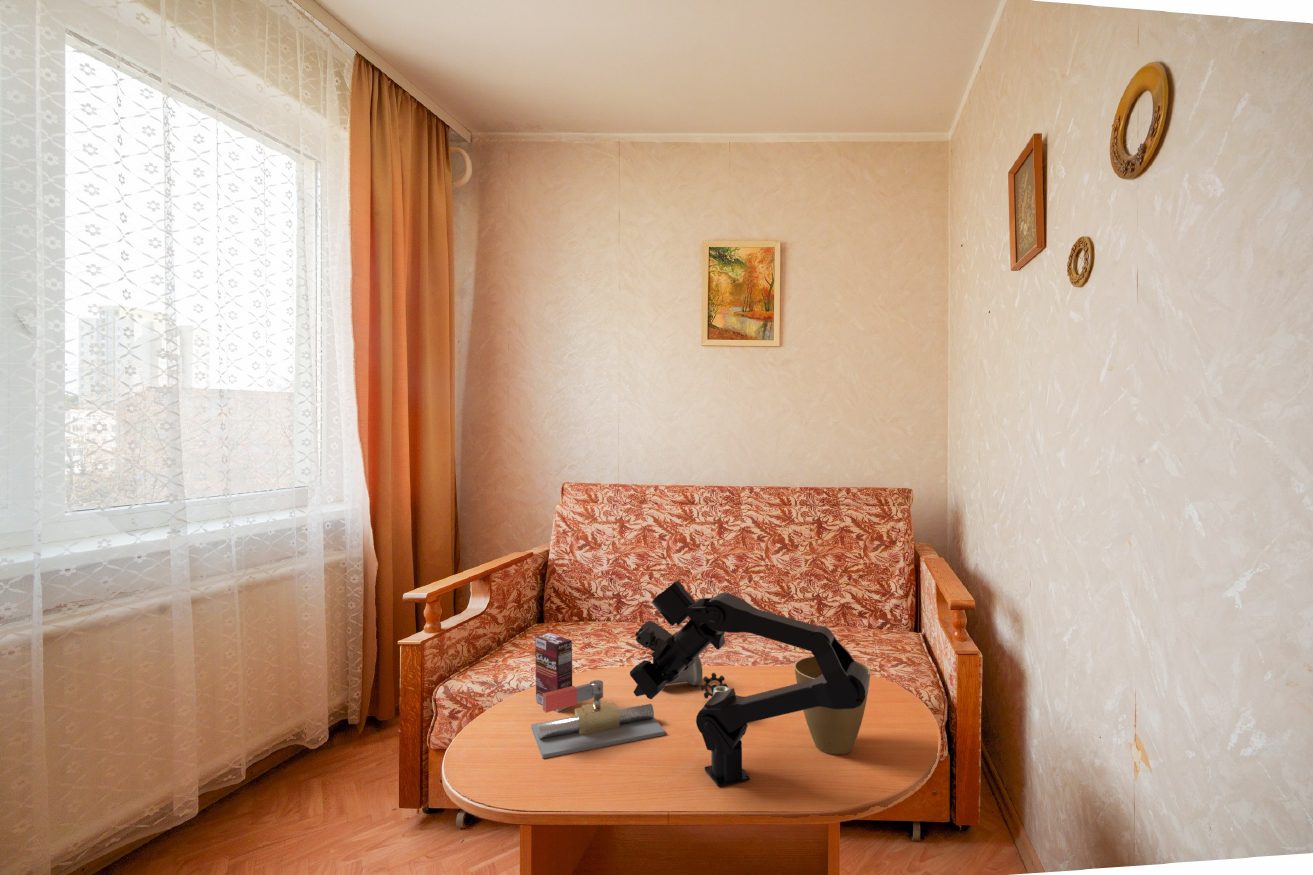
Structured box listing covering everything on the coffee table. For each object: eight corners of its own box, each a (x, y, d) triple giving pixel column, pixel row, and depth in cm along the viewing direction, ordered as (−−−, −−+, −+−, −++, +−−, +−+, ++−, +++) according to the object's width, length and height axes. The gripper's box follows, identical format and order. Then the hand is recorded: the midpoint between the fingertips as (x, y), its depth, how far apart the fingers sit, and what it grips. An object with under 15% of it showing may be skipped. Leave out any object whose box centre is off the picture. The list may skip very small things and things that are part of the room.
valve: (738, 721, 138) (727, 699, 150) (738, 691, 138) (727, 671, 150) (709, 723, 138) (700, 700, 150) (708, 693, 138) (699, 673, 150)
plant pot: (880, 739, 129) (879, 662, 129) (858, 772, 117) (857, 687, 116) (810, 722, 137) (809, 649, 137) (783, 750, 125) (782, 671, 125)
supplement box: (534, 702, 149) (533, 636, 149) (550, 696, 153) (550, 631, 153) (557, 713, 144) (556, 644, 144) (573, 706, 147) (572, 638, 147)
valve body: (648, 713, 141) (647, 685, 141) (655, 721, 137) (654, 692, 137) (537, 733, 132) (536, 703, 132) (540, 742, 128) (540, 711, 128)
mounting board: (643, 708, 146) (643, 704, 146) (665, 734, 132) (665, 730, 132) (531, 727, 136) (531, 724, 136) (542, 758, 123) (542, 754, 123)
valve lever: (599, 693, 136) (599, 678, 136) (605, 698, 134) (605, 682, 134) (541, 708, 129) (541, 692, 129) (546, 713, 127) (546, 697, 127)
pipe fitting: (693, 677, 164) (692, 638, 164) (704, 689, 156) (703, 648, 156) (649, 683, 160) (648, 643, 160) (658, 695, 153) (657, 653, 153)
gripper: (679, 599, 130) (633, 645, 135) (638, 623, 114) (587, 675, 118) (715, 641, 127) (667, 688, 131) (679, 672, 110) (625, 724, 115)
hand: (637, 692), depth 124 cm, fingers closed
